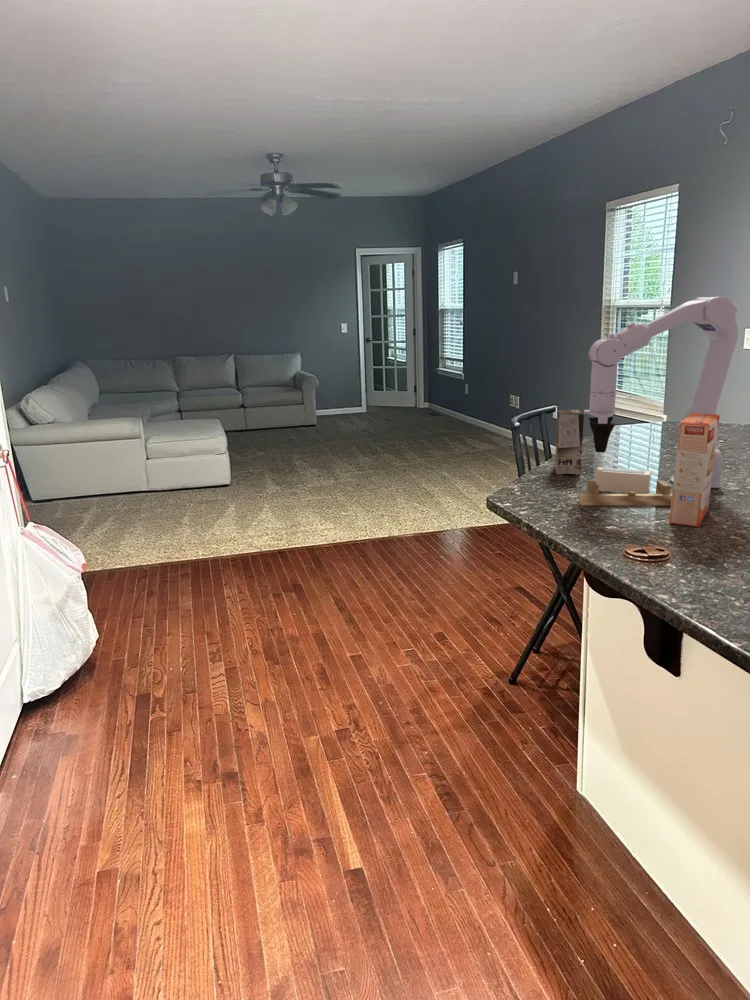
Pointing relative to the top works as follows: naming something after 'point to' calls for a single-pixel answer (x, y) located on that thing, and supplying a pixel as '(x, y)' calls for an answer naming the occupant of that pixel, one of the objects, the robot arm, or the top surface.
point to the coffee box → (569, 441)
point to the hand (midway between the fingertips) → (599, 448)
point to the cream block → (623, 480)
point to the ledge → (627, 496)
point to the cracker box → (694, 468)
